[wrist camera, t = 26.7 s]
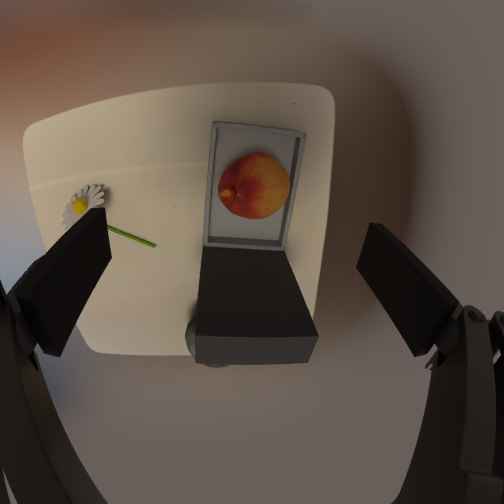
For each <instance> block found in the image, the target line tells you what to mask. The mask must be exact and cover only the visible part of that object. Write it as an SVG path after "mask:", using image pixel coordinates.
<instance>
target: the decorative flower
mask: <svg viewBox="0 0 504 504" xmlns="http://www.w3.org/2000/svg"><path fill="white" fill-rule="evenodd" d="M95 186H96V185H95V184H94V185H92V186H91V187H90V189H89V191H88V185H87V186H85V187H84V189H83V193H82V190H79V191H78V192H77V198H76V197H75V196H72V197H71V201H72V202H73V204H72V203H69V204H67V205H66V208H67V209H69V210H66V211H65V212H63V216H67V215H68V216H67V217H66V218H65V219H64V220H63V223H62V224H63V225H64V224H66V225H65V227H64V230H67V229H68V228H69V226H70V225H71V223H72V222H73V223H72V225H71V227H72V226H73V225H74V224H75V223H76V222H77V221H78V220H79V219H80V218H81V217H82V216H83V215H84V214H85V213H86V212H87V211H88V210H89V209H91V208H98V207H93V206H96V205H100V204H102V203H103V202H104V199H99V198H100V197H102V196H103V195H104V192H100V193H98V194H97V195H95V194H96V193H97V192H98V191H99V190H100V189H101V187H100V186H98V187H97V188H95ZM87 191H88V193H87ZM94 195H95V196H94ZM69 214H70V215H69ZM71 227H70V228H71ZM107 228H108V230H111V231H113V232H115V233H118V234H120V235H123V236H125V237H128V238H131V239H133V240H136V241H138V242H141V243H143V244H146V245H148V246H151V247H153V248H155V246H156V245H154V244H151V243H149V242H146V241H144V240H141V239H139V238H136V237H134V236H131V235H129V234H126V233H123V232H121V231H118V230H116V229H114V228H111V227H109V226H107Z"/></svg>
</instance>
